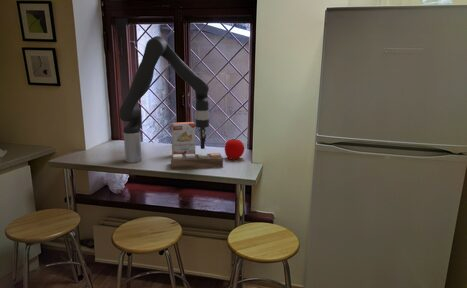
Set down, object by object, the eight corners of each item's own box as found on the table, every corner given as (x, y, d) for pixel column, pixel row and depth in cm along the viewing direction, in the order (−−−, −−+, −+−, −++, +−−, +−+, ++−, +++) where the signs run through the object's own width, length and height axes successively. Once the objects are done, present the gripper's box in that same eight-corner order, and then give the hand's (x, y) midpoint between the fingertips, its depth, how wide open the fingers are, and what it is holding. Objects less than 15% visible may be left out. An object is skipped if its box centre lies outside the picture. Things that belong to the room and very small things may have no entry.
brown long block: (170, 163, 192) (170, 154, 191) (219, 161, 198) (219, 153, 197) (171, 169, 182) (171, 160, 181) (222, 166, 187) (222, 158, 186)
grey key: (185, 159, 190) (185, 154, 190) (194, 158, 191) (194, 153, 191) (186, 161, 186) (186, 156, 185) (195, 161, 186) (195, 155, 186)
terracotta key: (209, 158, 193) (209, 153, 192) (218, 157, 194) (218, 152, 193) (211, 160, 188) (211, 155, 188) (219, 160, 189) (219, 155, 188)
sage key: (197, 158, 192) (197, 153, 191) (206, 158, 193) (206, 153, 192) (198, 161, 187) (198, 155, 186) (207, 160, 188) (207, 155, 187)
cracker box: (173, 157, 205) (172, 124, 200) (171, 155, 210) (170, 122, 205) (195, 155, 210) (195, 122, 205) (193, 153, 215) (192, 121, 211)
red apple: (220, 159, 203) (220, 139, 200) (230, 155, 212) (230, 135, 209) (238, 162, 196) (238, 141, 194) (247, 158, 206) (247, 138, 203)
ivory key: (173, 159, 189) (173, 154, 188) (182, 159, 190) (182, 154, 189) (173, 162, 184) (173, 156, 183) (182, 161, 185) (182, 156, 184)
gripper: (194, 116, 190) (195, 146, 194) (196, 120, 177) (197, 151, 181) (207, 116, 191) (207, 145, 195) (210, 120, 178) (210, 151, 182)
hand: (202, 148), depth 188 cm, fingers closed
